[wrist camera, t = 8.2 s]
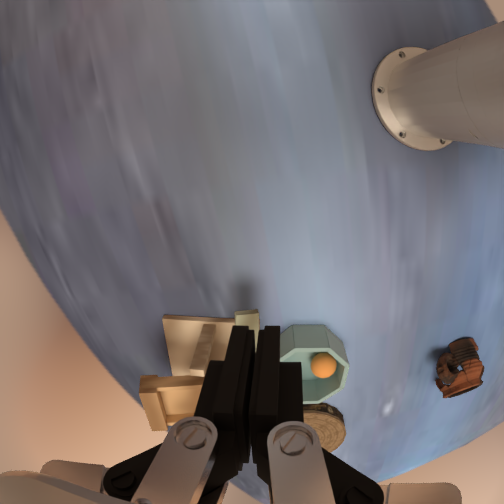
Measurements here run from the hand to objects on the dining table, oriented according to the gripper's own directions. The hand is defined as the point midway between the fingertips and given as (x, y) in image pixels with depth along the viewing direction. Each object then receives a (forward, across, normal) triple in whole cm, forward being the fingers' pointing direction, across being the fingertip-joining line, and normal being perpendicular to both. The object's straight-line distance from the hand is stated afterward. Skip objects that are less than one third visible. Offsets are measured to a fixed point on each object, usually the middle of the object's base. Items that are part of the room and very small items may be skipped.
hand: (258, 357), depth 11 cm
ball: (+24, -6, +23) cm, 33 cm away
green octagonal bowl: (+26, -4, +22) cm, 34 cm away
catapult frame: (+25, +9, +22) cm, 35 cm away
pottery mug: (+27, -29, +27) cm, 48 cm away
